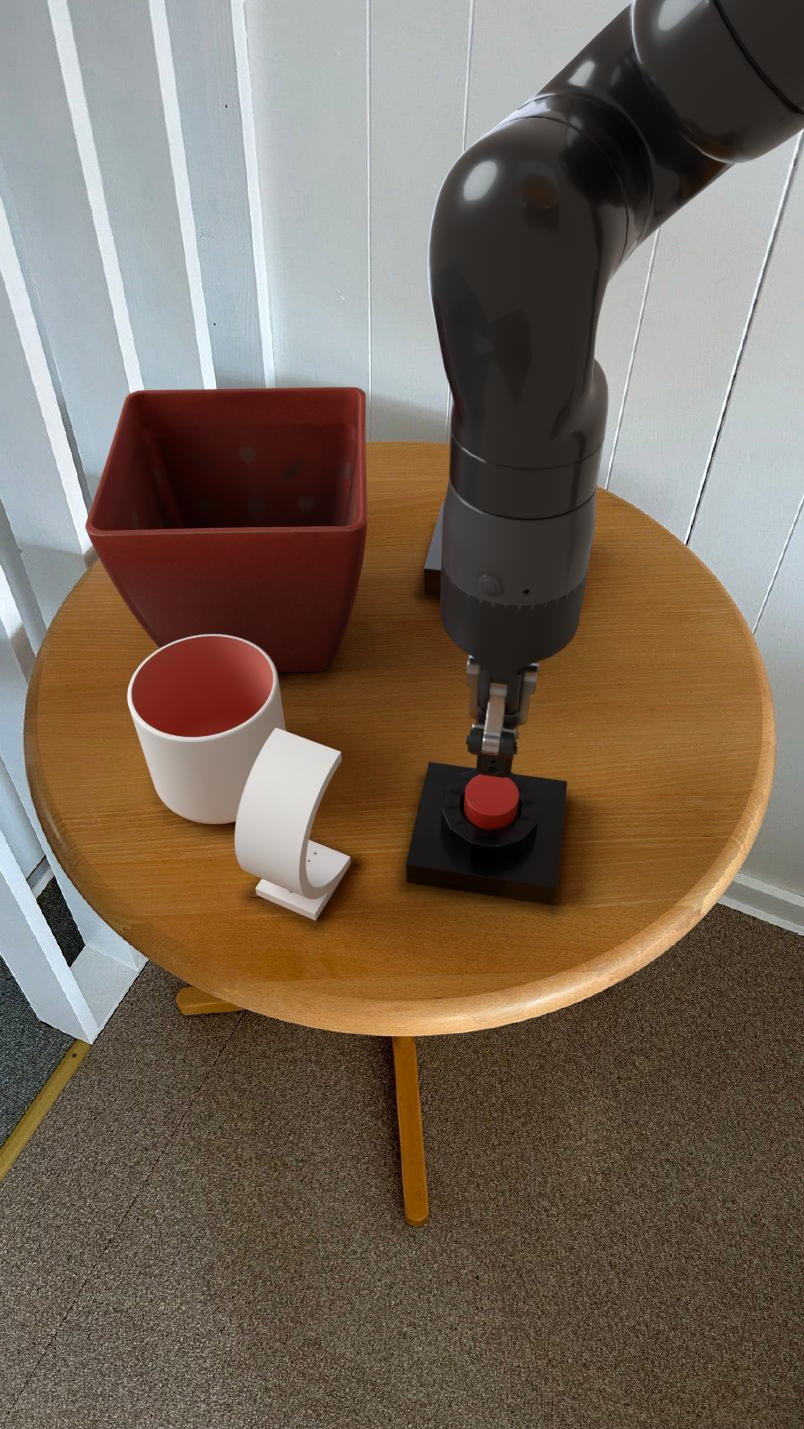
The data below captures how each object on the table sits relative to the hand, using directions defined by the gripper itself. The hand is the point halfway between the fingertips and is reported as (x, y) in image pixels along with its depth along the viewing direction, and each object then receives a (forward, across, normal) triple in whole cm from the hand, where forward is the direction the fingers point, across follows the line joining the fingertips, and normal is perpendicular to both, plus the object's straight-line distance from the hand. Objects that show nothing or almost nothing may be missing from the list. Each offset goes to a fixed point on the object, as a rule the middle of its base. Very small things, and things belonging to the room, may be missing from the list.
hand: (494, 767), depth 62 cm
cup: (+8, +2, +20) cm, 22 cm away
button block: (+8, 0, 0) cm, 8 cm away
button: (+5, 0, 0) cm, 5 cm away
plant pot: (+8, +19, +22) cm, 30 cm away
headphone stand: (+8, -6, +12) cm, 16 cm away
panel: (+8, +30, +3) cm, 31 cm away
